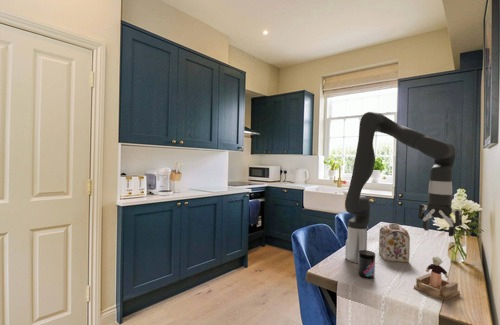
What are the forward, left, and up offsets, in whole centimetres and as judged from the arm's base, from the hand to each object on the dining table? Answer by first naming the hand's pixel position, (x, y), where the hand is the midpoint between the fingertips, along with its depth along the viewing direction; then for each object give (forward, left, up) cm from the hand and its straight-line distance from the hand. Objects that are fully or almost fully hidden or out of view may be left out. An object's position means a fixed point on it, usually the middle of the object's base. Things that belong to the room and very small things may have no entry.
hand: (438, 233), depth 103 cm
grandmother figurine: (0, 0, -22) cm, 22 cm away
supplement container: (-22, -13, -23) cm, 35 cm away
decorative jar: (-29, +20, -23) cm, 42 cm away
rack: (0, 0, -23) cm, 23 cm away
